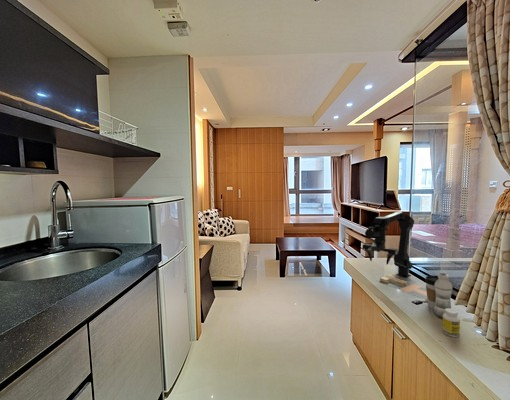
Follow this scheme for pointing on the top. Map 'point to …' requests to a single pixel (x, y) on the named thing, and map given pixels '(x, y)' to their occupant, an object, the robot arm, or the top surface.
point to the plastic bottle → (442, 294)
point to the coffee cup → (431, 290)
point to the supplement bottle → (451, 322)
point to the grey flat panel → (410, 289)
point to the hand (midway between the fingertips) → (378, 262)
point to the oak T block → (393, 280)
